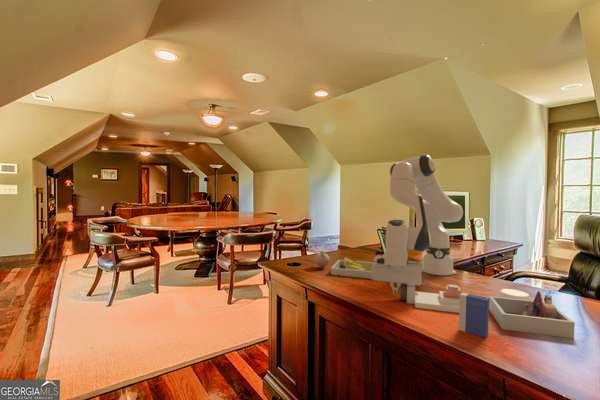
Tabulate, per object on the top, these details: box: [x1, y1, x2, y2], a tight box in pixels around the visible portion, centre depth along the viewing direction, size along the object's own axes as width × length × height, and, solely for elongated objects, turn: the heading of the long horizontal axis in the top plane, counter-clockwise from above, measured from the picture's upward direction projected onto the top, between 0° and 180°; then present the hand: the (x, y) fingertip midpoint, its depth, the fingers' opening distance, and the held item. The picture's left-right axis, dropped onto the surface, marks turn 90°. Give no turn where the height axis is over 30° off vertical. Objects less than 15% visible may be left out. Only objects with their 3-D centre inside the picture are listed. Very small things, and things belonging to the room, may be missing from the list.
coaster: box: [499, 288, 530, 300], centre depth 129 cm, size 10×10×4 cm
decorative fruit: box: [313, 250, 331, 269], centre depth 178 cm, size 9×8×10 cm
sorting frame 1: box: [330, 259, 374, 280], centre depth 170 cm, size 21×28×4 cm
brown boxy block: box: [444, 284, 462, 299], centre depth 122 cm, size 5×5×6 cm
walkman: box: [458, 292, 490, 339], centre depth 99 cm, size 8×3×12 cm, turn 47°
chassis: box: [406, 284, 463, 314], centre depth 124 cm, size 14×23×6 cm, turn 71°
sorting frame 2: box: [488, 295, 576, 339], centre depth 107 cm, size 18×19×5 cm
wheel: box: [399, 284, 419, 301], centre depth 127 cm, size 6×7×6 cm
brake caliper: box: [521, 290, 558, 319], centre depth 106 cm, size 11×11×12 cm
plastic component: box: [343, 256, 372, 271], centre depth 171 cm, size 20×7×10 cm
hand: (395, 292), depth 129 cm, fingers closed
